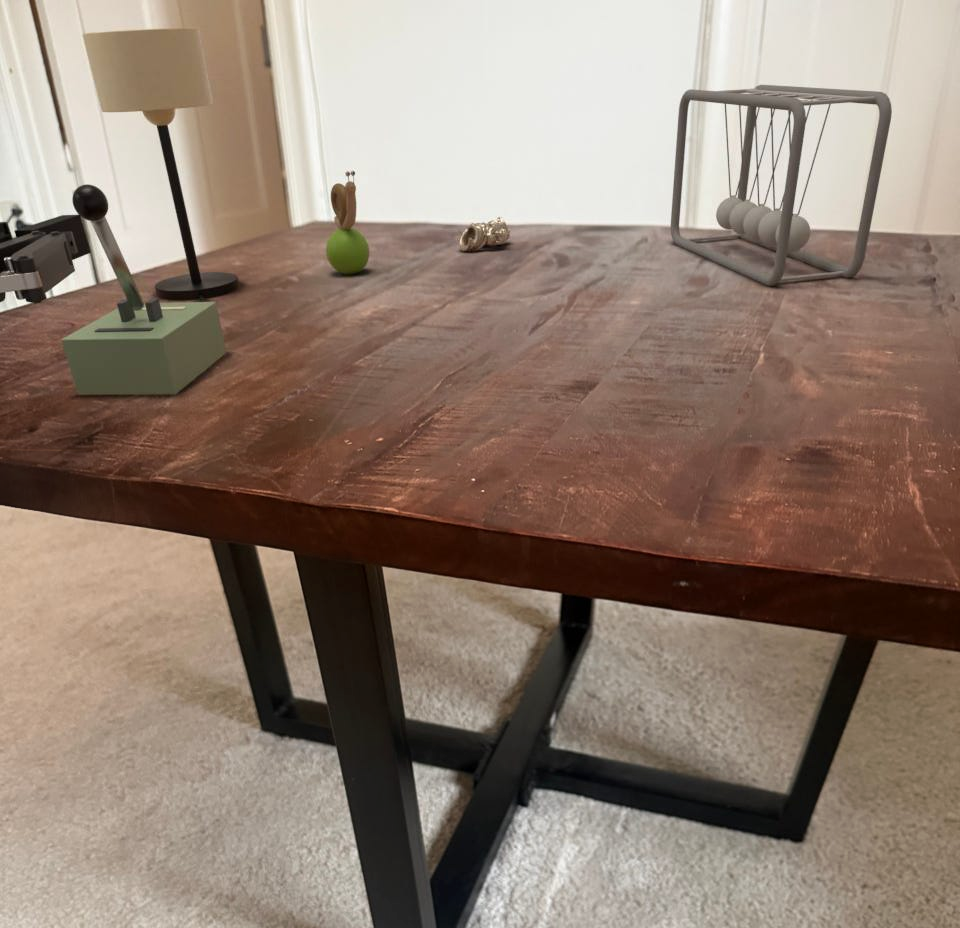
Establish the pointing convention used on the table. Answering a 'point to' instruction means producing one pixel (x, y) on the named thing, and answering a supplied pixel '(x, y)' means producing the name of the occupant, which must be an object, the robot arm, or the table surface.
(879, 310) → the table surface
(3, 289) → the robot arm
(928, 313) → the table surface
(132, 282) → the toggle lever
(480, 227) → the ornament
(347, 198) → the snail figurine
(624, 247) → the table surface
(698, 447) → the table surface
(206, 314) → the switch box
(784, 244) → the newton's cradle
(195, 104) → the desk lamp
